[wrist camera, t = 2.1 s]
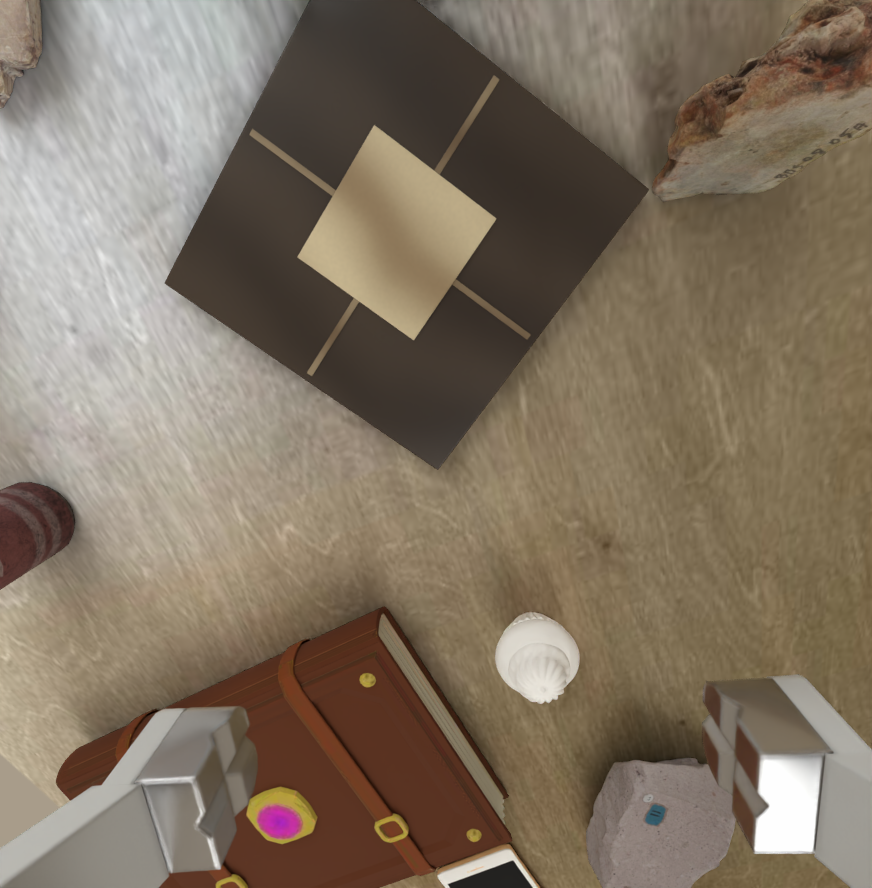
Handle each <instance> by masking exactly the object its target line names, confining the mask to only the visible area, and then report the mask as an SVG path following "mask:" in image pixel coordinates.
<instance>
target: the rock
mask: <svg viewBox="0 0 872 888" xmlns="http://www.w3.org/2000/svg"><path fill="white" fill-rule="evenodd" d="M675 125H676V129H675V131H674V133H673V134H672V136H671V137H670V139H669V144H668V148H667V151H668V154H669V158H668V162H667V163H666V165H665V166H664V168H663V169H662V171H661V172H660V173H659V174H658V175H657V176H656V178H655V180H654V182H653V186H652V191H653V193H654V194H655V195H656V196H659V197H660V198H661V200H662V201H670V200H674V199H680V198H684V197H691V196H695V195H698V194H701V193H705V194H716V195H722V194H746V193H760V192H763V191H767V190H770V189H772V188H774V187H776V186H777V185H779V184H781V183H782V182H783V181H784V180H786V179H788V178H790V177H793V176H795V175H796V174H797V173H799V172H801V171H802V170H803V169H804V167H806V166H807V165H808V164H809V163H811V162H812V161H814V160H815V159H817V158H819V157H821V156H822V155H824V154H825V153H827V152H828V151H830V150H831V149H832V148H834V147H837V146H839V145H841V144H844V143H846V142H849V141H851V140H854V139H856V138H859V137H861V136H863V135H864V134H866V133H867V132H868V131H870V130H871V129H872V0H810V1H808V2H807V3H806V4H805V5H804V6H803V7H802V8H801V9H800V10H799V11H798V12H796V13H795V14H793V15H792V16H790V17H789V20H788V22H787V25H786V28H785V29H784V31H783V32H782V34H781V36H780V37H779V39H778V41H777V42H776V43H775V44H773V45H772V47H771V48H770V49H769V50H768V51H767V52H766V53H765V54H763V55H761V56H759V57H755V58H751V59H748V60H746V61H744V62H743V63H742V65H741V67H740V70H739V72H738V74H737V75H736V77H735V78H734V77H732V76H731V75H730V74H727V75H724V76H722V77H719V78H717V79H715V80H714V81H712V82H710V83H708V84H706V85H703V86H702V87H701V88H700V90H698V91H697V92H696V93H695V94H693V95H692V96H690V97H689V98H688V99H687V100H686V101H685V103H684V104H683V105H682V106H681V107H680V108H679V111H678V113H677V116H676V118H675Z"/></svg>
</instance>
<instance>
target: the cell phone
mask: <svg viewBox="0 0 872 888" xmlns="http://www.w3.org/2000/svg"><path fill="white" fill-rule="evenodd" d="M438 879H439V880H440V881H441V883H442V884H443V885H444V887H445V888H540V886H539V885H538V884H537V882H536V881H535V879H534V878H533V876H532V875H531V874H530V872H529V871H528V869H527V868H526V867H525V865H524V864H523V862H522V861H521V860H520V858H519V857H518V855H517V854H516V853H515V851H514V849H513V848H512V846H511V845H509V844H504V845H500V846H498V847H495V848H492V849H490V850H487V851H484V852H481V853H479V854H476V855H473V856H471V857H468V858H465V859H463V860H460V861H457V862H455V863H452V864H449V865H446V866H444V867H442V868H440V869H438Z"/></svg>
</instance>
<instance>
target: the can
mask: <svg viewBox="0 0 872 888" xmlns="http://www.w3.org/2000/svg"><path fill="white" fill-rule="evenodd" d="M74 525H75V519H74V515H73V511H72V509H71V507H70V506H69V504H68V502H67V501H66V500H65V499H64V498H63V497H62V496H61V495H60V494H59V493H58V492H56V491H55V490H53V489H51V488H49V487H47V486H44V485H40V484H36V483H32V482H27V483H17V484H14V485H12V486H9V487H7V488H5V489H2V490H0V590H1V589H2V588H4V587H5V586H7V585H8V584H10V583H11V582H13V581H14V580H16V579H17V578H19V577H21V576H22V575H24V574H25V573H27V572H28V571H30V570H31V569H33V568H34V567H36V566H38V565H39V564H41V563H42V562H44V561H45V560H47V559H48V558H50V557H51V556H53V555H55V554H56V553H58V552H59V551H61V550H62V549H63V548H64V547H65V546H67V545H68V544H69V542H70V540H71V538H72V536H73V533H74Z"/></svg>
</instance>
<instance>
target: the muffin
mask: <svg viewBox="0 0 872 888" xmlns="http://www.w3.org/2000/svg"><path fill="white" fill-rule="evenodd" d="M579 660H580V657H579V650H578V647H577V644H576V642H575V641H574V639H573V637H572V636H571V635H570V634H569V633H568V632H567V631H566V630H565V629H564V628H563V627H562V625H560V624H558V623H557V622H556V621H554V620H552V619H551V618H549V617H547V616H545V615H543V614H541V613H536V612H533V613H532V612H529V613H528V612H526V613H525V614H524V613H523V614H522V615H519V616H518V617H516V618H515V619H514V621H513V622H512V623H511V624H510V625H509V626H508V627H507V628H506V629H505V631H504V632H503V635H502V636H501V637H500V640H499V642H498V644H497V648H496V653H495V661H496V666H497V669H498V671H499V673H500V675H501V677H502V678H503V680H504V681H505V682H506V683H507V684H508V685H509V686H510V687H511V688H513V689H514V690H516V691H518V692H520V693H521V695H522V696H524V697H525V698H527V699H528V700H529V701H531V702H537V703H539V704H542V703H544V702H545V701H546V702H548V703H550V702H551V700H552V699H555V700H557V699H558V695H561V694H563V693H564V690H563V688H564V687H566V686H567V684H568V683H569V682H570V681H571V680H572V679H573V678H574V677H575V675H576V673H577V670H578V667H579Z"/></svg>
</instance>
